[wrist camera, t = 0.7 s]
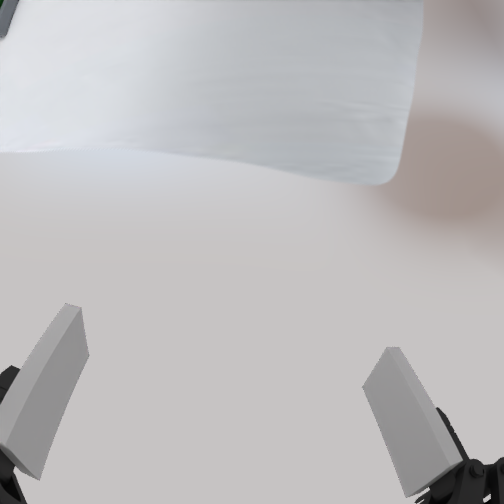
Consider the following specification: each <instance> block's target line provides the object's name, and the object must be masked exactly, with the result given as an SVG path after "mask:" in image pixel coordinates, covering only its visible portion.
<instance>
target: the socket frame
mask: <svg viewBox="0 0 504 504" xmlns="http://www.w3.org/2000/svg"><path fill="white" fill-rule="evenodd" d="M18 1H19V0H4V1H3V4H2V6H1V9H0V37H2V36H5V35H6V34H7V31H8V27H9V25H10V22H11V19H12V16H13V13H14V11H15V8H16V6H17V3H18Z"/></svg>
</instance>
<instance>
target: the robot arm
mask: <svg viewBox="0 0 504 504" xmlns="http://www.w3.org/2000/svg"><path fill="white" fill-rule="evenodd" d="M88 357H89V352H88V347H87V342H86V336H85V330H84V324H83V316H82V309H81V307H78V306H74V305H70V304H66V303H65V305H64V306H63V307H62V309H61V310H60V311H59V313H58V314H57V316H56V317H55V318H54V320H53V321H52V323H51V324H50V325H49V327H48V328H47V330H46V331H45V333H44V334H43V335H42V337H41V338H40V340H39V341H38V343H37V344H36V346H35V348H34V349H33V351H32V352H31V354H30V355H29V357H28V358H27V360H26V361H25V363H24V365H23V366H22V368H21V369H19V368H16V367H14V366H12V365H11V366H10V367H9V368H7V369H6V370H5V371H3V372H2V373H1V374H0V504H27V503H26V500H25V498H24V496H23V493H22V491H21V488H20V486H19V484H18V481H17V478H16V476H15V474H14V472H13V470H14V467H15V466H16V467H17V468H18V469H19V470H20V471H21V472H23V473H25V474H27V475H29V476H31V477H33V478H35V479H37V480H40V478H41V474H42V471H43V468H44V465H45V462H46V459H47V456H48V453H49V450H50V447H51V445H52V442H53V439H54V437H55V434H56V431H57V429H58V426H59V424H60V421H61V419H62V416H63V414H64V411H65V409H66V406H67V404H68V402H69V399H70V397H71V395H72V392H73V390H74V388H75V385H76V383H77V381H78V379H79V377H80V374H81V372H82V370H83V368H84V366H85V364H86V361H87V359H88ZM363 390H364V392H365V394H366V397H367V399H368V402H369V404H370V406H371V409H372V411H373V414H374V416H375V418H376V421H377V423H378V426H379V428H380V431H381V433H382V436H383V438H384V441H385V443H386V446H387V448H388V451H389V454H390V456H391V459H392V462H393V464H394V467H395V470H396V472H397V475H398V478H399V480H400V483H401V486H402V489H403V491H404V494H405V497H406V498H407V497H410V496H413V495H415V494H418V493H420V492H421V491H423V490H424V489H426V488H428V487H429V488H430V490H429V491H428V492H426V493H425V494H423V495H422V496H420V497H419V498H418V499H417V500H416V501H415V503H416V504H417V503H418V502H420V501H421V500H423V499H424V501H423V502H421V503H420V504H504V457H502V458H500V459H499V460H498V461H497V462H495V463H494V464H490V465H483V464H482V463H481V462H480V461H479V460H477V459H471V460H470V459H469V457H468V456H467V454H466V452H465V450H464V448H463V446H462V444H461V442H460V441H459V438H458V437H457V435H456V433H454V429H453V427H452V426H450V422H449V420H448V418H447V417H446V415H445V414H444V413H443V412H442V411H441V410H440V409H439V408H438V407H437V408H435V406H434V404H433V403H432V401H431V399H430V397H429V396H428V394H427V392H426V391H425V389H424V387H423V385H422V384H421V382H420V380H419V379H418V377H417V375H416V374H415V372H414V370H413V369H412V367H411V365H410V364H409V362H408V361H407V359H406V357H405V356H404V354H403V352H402V351H401V349H400V348H399V347H387V348H386V349H385V351H384V353H383V354H382V356H381V358H380V359H379V361H378V363H377V364H376V366H375V368H374V370H373V371H372V373H371V374H370V376H369V377H368V379H367V380H366V382H365V384H364V385H363ZM489 494H491V499H490V500H488V501H487V502H485V503H484V502H483V498H485V497H486V496H488V495H489Z"/></svg>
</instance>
